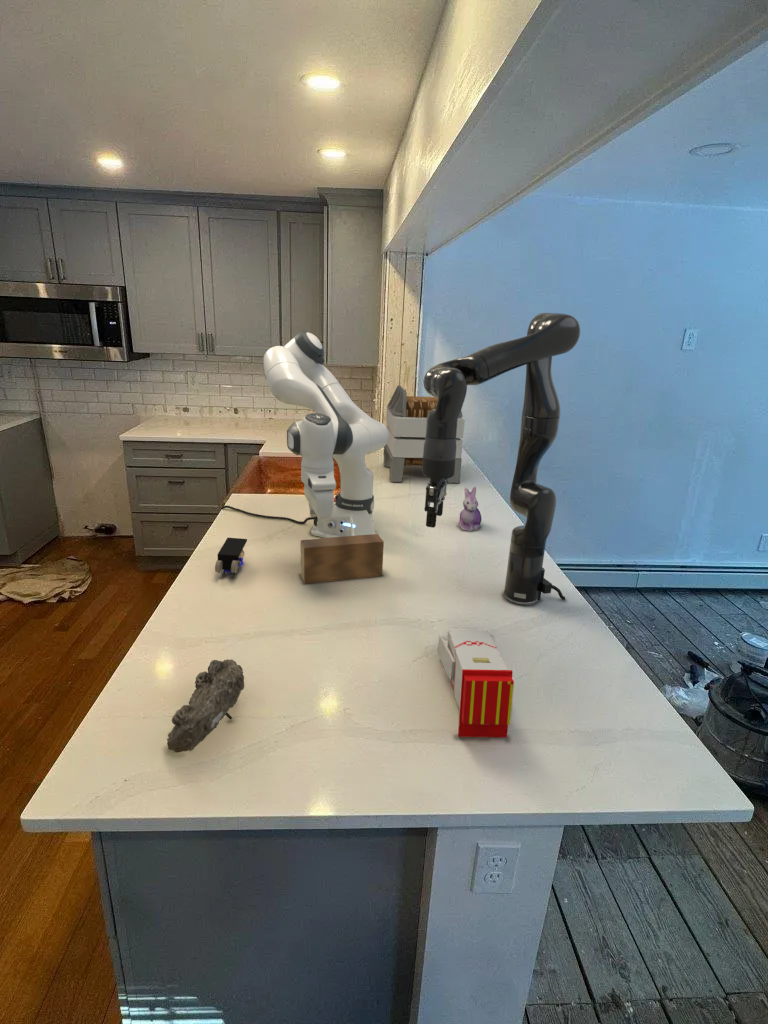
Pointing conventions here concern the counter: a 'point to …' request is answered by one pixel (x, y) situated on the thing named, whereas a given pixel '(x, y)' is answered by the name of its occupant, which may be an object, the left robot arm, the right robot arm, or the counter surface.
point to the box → (341, 558)
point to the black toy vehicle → (230, 556)
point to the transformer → (412, 433)
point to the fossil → (206, 705)
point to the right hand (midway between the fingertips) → (434, 520)
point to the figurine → (470, 512)
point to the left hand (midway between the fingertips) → (316, 522)
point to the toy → (478, 682)
